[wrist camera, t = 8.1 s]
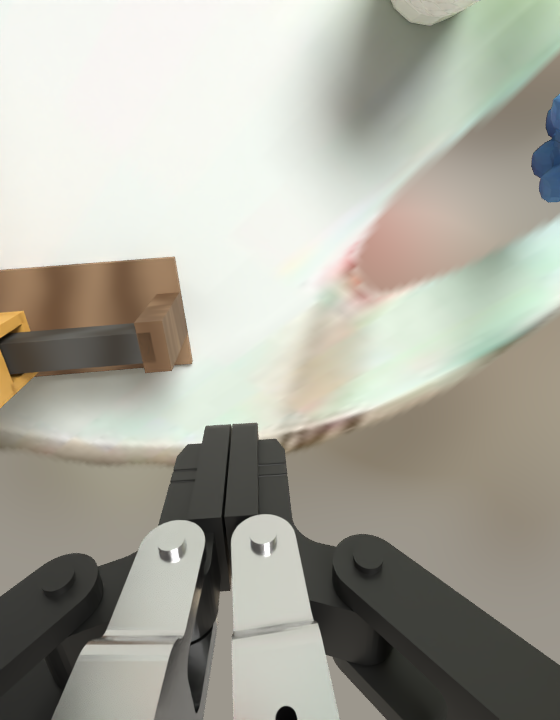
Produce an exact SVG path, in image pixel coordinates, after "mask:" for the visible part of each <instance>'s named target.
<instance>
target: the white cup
mask: <svg viewBox="0 0 560 720" xmlns="http://www.w3.org/2000/svg"><path fill="white" fill-rule="evenodd" d="M479 1H480V0H391V2H392V4H393V7H394V8H395V9H396V10H397V11H398V12H399V13H400V14H401V15H402V16H403V17H405V18H406V19H407V20H408V21H409V22H411V23H417V24H423V25H429V26H431V25H433V24H436V23H438V22H440V21H443V20H445V19H448V18H450V17H452V16H454V15H455V14H457V13H459V12H461V11H463V10H465V9H467V8H468V7H470V6H472V5H473V4H475V3H477V2H479Z"/></svg>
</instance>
